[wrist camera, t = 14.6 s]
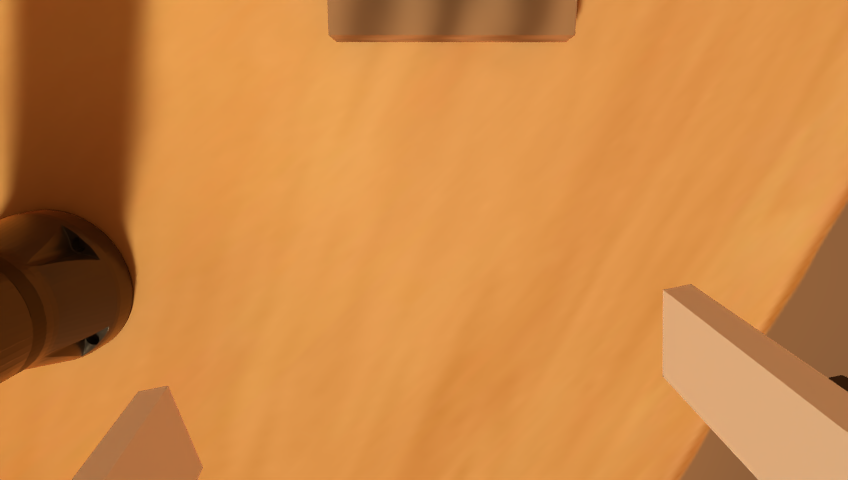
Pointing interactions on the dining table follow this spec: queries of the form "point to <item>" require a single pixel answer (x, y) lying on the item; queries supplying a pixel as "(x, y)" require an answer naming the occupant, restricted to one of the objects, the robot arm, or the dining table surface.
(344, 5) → the plinth
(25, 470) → the dining table surface
